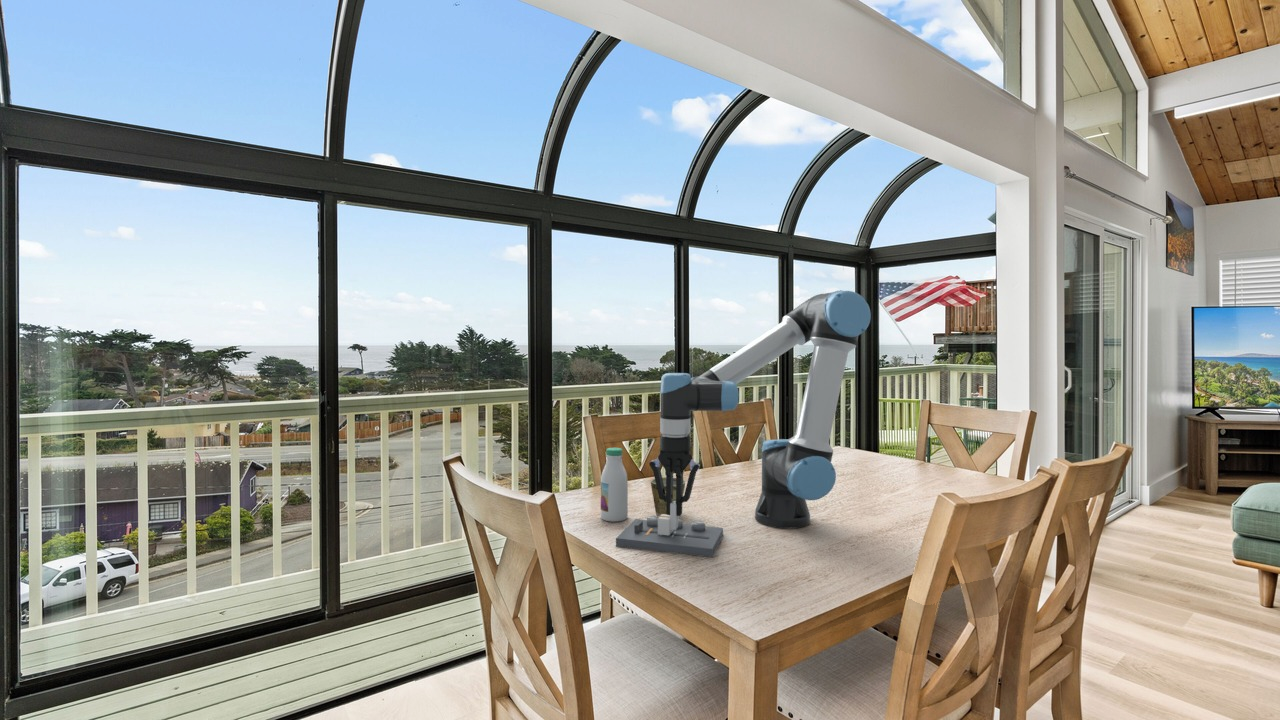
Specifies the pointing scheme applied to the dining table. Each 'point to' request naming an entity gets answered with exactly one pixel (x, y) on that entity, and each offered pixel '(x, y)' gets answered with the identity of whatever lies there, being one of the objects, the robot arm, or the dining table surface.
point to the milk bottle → (614, 487)
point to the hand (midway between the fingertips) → (674, 527)
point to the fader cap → (664, 525)
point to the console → (671, 537)
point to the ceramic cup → (660, 504)
